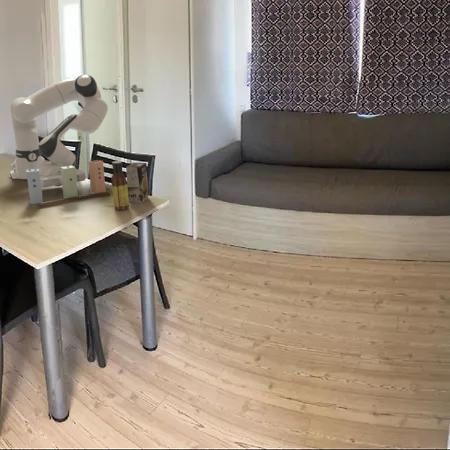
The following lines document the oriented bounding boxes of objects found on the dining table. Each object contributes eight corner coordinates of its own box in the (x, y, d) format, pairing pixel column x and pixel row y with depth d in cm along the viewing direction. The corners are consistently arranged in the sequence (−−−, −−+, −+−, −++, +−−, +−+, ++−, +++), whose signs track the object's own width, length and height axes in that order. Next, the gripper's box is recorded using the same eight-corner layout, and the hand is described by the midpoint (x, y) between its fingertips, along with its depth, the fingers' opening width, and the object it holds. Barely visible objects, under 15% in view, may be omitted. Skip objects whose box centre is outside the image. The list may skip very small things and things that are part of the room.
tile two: (30, 201, 235) (26, 169, 231) (42, 200, 237) (38, 168, 232) (30, 204, 232) (26, 171, 227) (43, 203, 233) (39, 170, 229)
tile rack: (24, 203, 237) (24, 197, 236) (101, 190, 256) (100, 184, 255) (35, 211, 226) (34, 204, 225) (113, 197, 245) (113, 191, 244)
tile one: (63, 198, 240) (60, 166, 235) (74, 196, 243) (71, 164, 238) (67, 200, 237) (64, 168, 232) (78, 198, 239) (75, 166, 235)
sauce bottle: (131, 206, 233) (128, 160, 226) (127, 211, 227) (124, 163, 220) (115, 206, 233) (112, 160, 227) (111, 210, 227) (108, 163, 221)
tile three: (90, 192, 249) (88, 161, 245) (99, 189, 253) (97, 159, 248) (96, 193, 247) (94, 162, 242) (105, 191, 250) (103, 160, 246)
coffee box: (141, 204, 236) (139, 167, 230) (127, 203, 237) (125, 166, 232) (148, 198, 244) (147, 162, 239) (135, 197, 245) (133, 161, 240)
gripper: (33, 172, 243) (43, 179, 232) (77, 166, 254) (89, 171, 244) (35, 186, 245) (45, 193, 235) (79, 179, 256) (90, 185, 246)
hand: (68, 182), depth 239 cm, fingers closed, pressing on tile one
